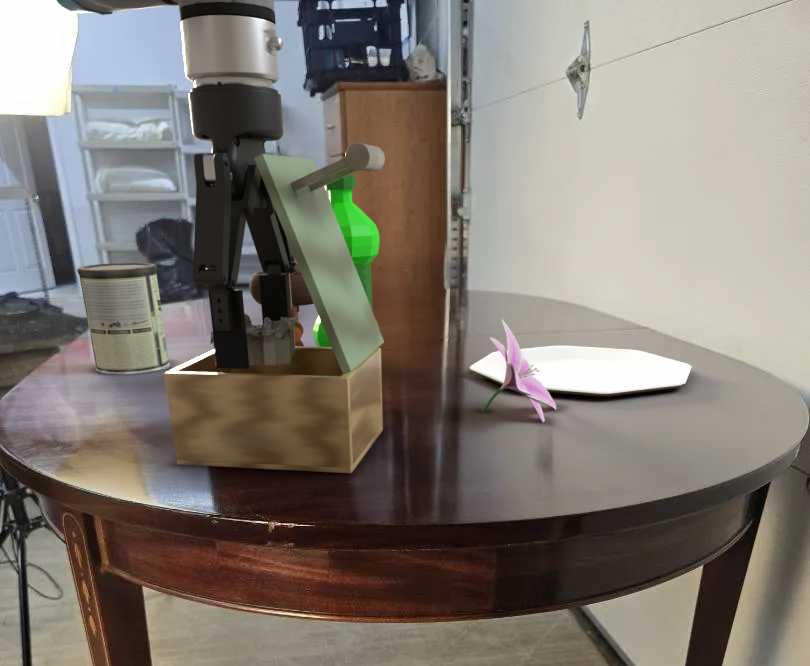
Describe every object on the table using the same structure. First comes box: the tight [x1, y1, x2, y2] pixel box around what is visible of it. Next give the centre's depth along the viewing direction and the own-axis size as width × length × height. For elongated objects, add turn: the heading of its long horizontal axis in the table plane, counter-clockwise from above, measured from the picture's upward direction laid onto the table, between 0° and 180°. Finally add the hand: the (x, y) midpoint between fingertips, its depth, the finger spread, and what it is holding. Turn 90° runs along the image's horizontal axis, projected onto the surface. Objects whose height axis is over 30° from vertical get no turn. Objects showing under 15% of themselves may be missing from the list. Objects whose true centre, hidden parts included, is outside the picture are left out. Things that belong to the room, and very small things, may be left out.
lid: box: [254, 141, 386, 374], centre depth 67 cm, size 18×14×8 cm
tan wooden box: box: [163, 345, 384, 474], centre depth 74 cm, size 17×14×9 cm
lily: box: [481, 319, 557, 423], centre depth 84 cm, size 12×12×10 cm
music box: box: [249, 259, 314, 346], centre depth 97 cm, size 15×11×20 cm
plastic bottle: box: [312, 174, 381, 347], centre depth 111 cm, size 10×10×25 cm
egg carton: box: [209, 313, 299, 366], centre depth 72 cm, size 11×8×4 cm
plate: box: [469, 345, 693, 397], centre depth 103 cm, size 28×28×2 cm
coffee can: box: [76, 262, 171, 375], centre depth 108 cm, size 10×10×14 cm
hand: (257, 354), depth 73 cm, fingers closed on egg carton, 11 cm apart
